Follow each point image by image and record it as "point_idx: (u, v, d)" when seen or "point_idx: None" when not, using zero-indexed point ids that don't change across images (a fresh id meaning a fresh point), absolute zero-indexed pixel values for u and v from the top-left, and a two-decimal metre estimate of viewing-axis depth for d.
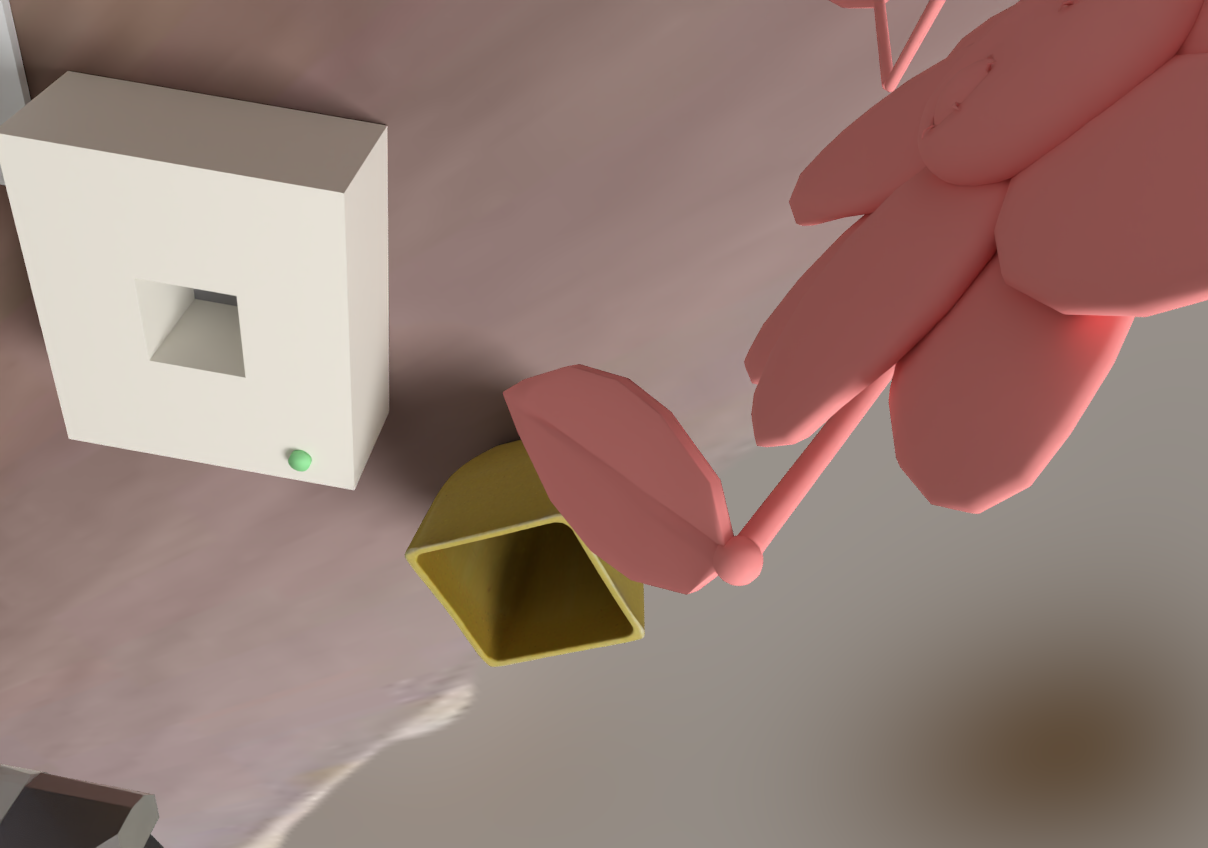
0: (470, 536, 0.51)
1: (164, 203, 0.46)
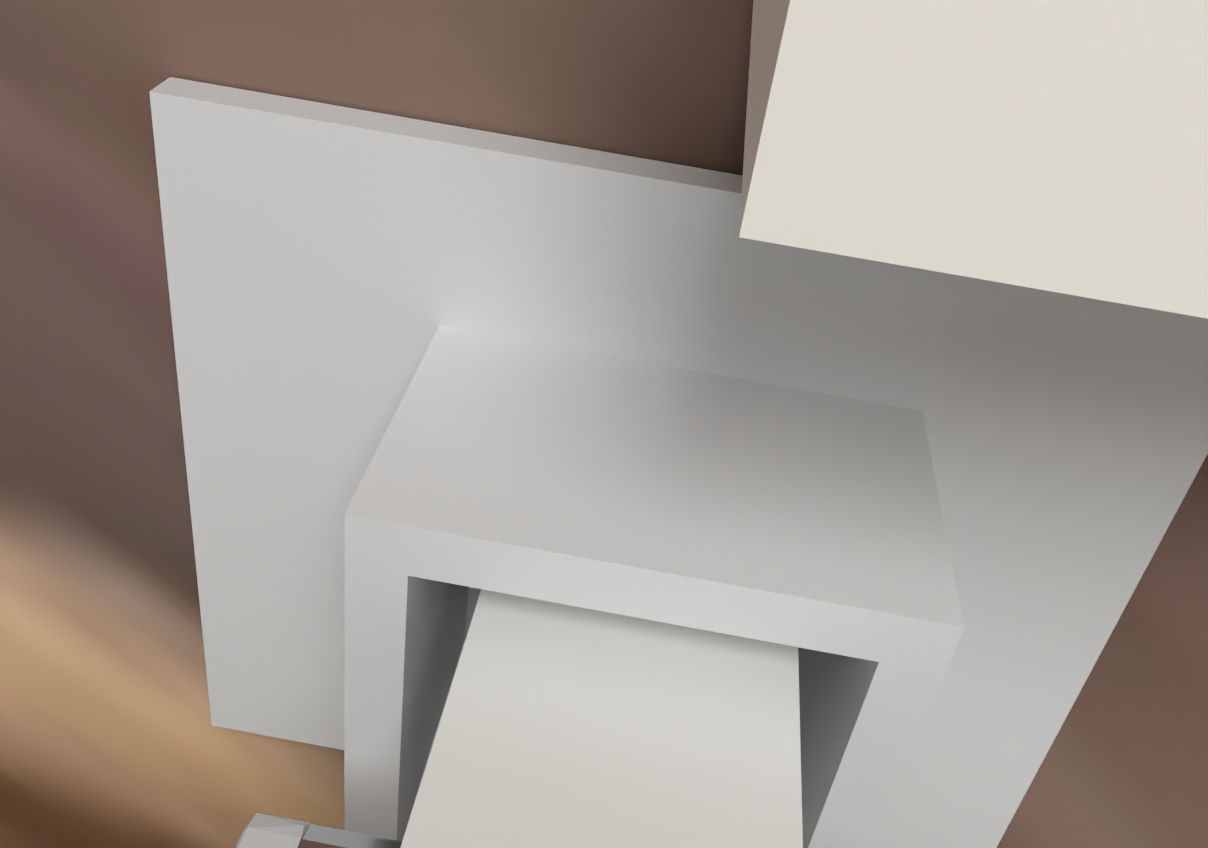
0: None
1: None
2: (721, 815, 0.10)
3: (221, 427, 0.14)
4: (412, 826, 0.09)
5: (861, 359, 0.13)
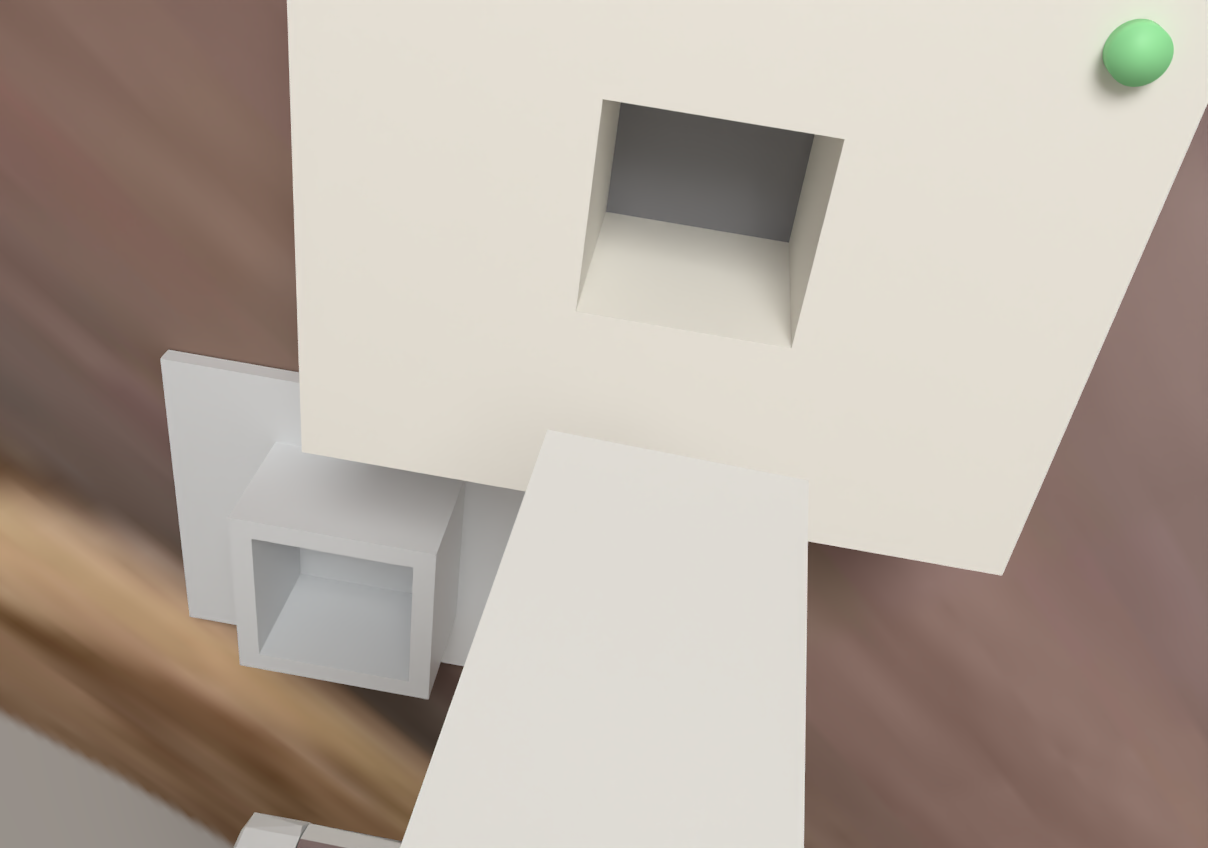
0: None
1: (388, 195, 0.22)
2: (723, 818, 0.10)
3: (190, 480, 0.34)
4: (415, 819, 0.09)
5: None
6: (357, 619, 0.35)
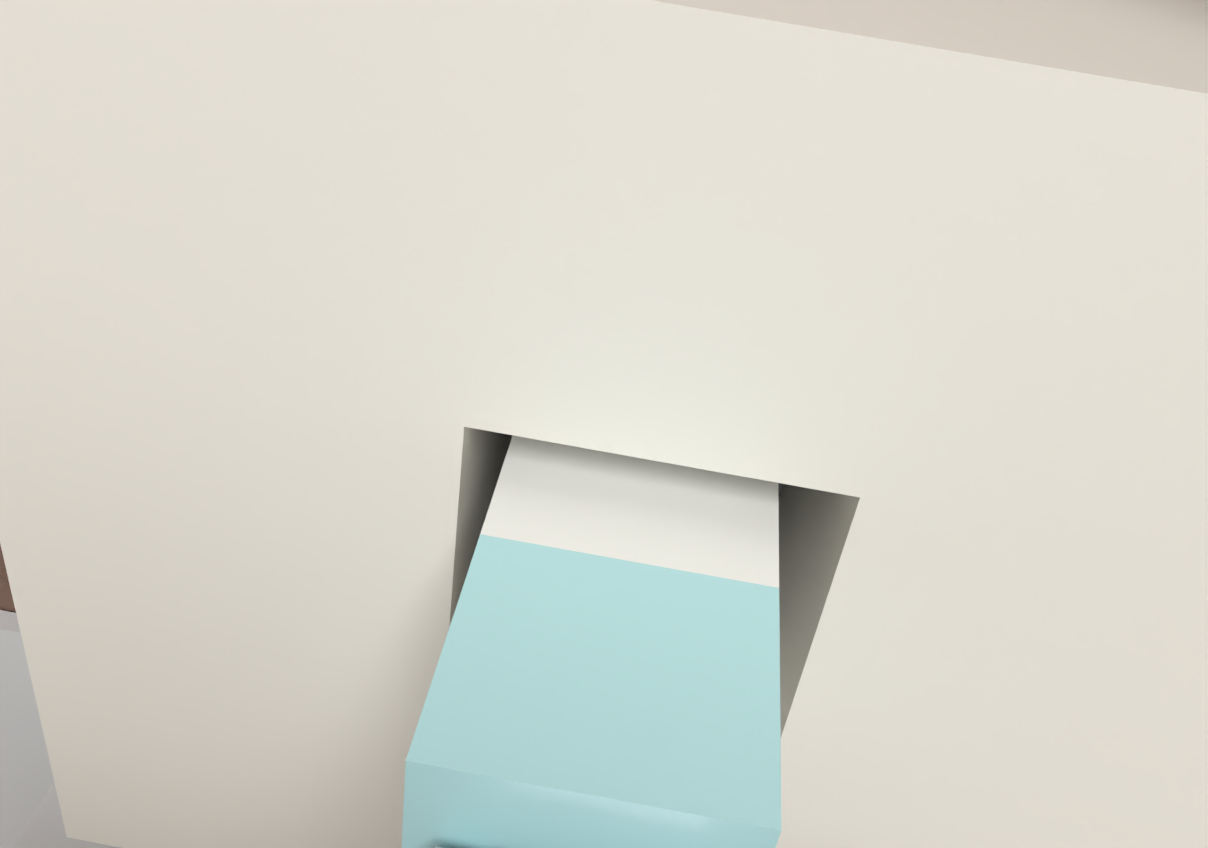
0: None
1: (142, 539, 0.14)
2: (717, 518, 0.13)
3: None
4: (490, 515, 0.12)
5: None
6: None
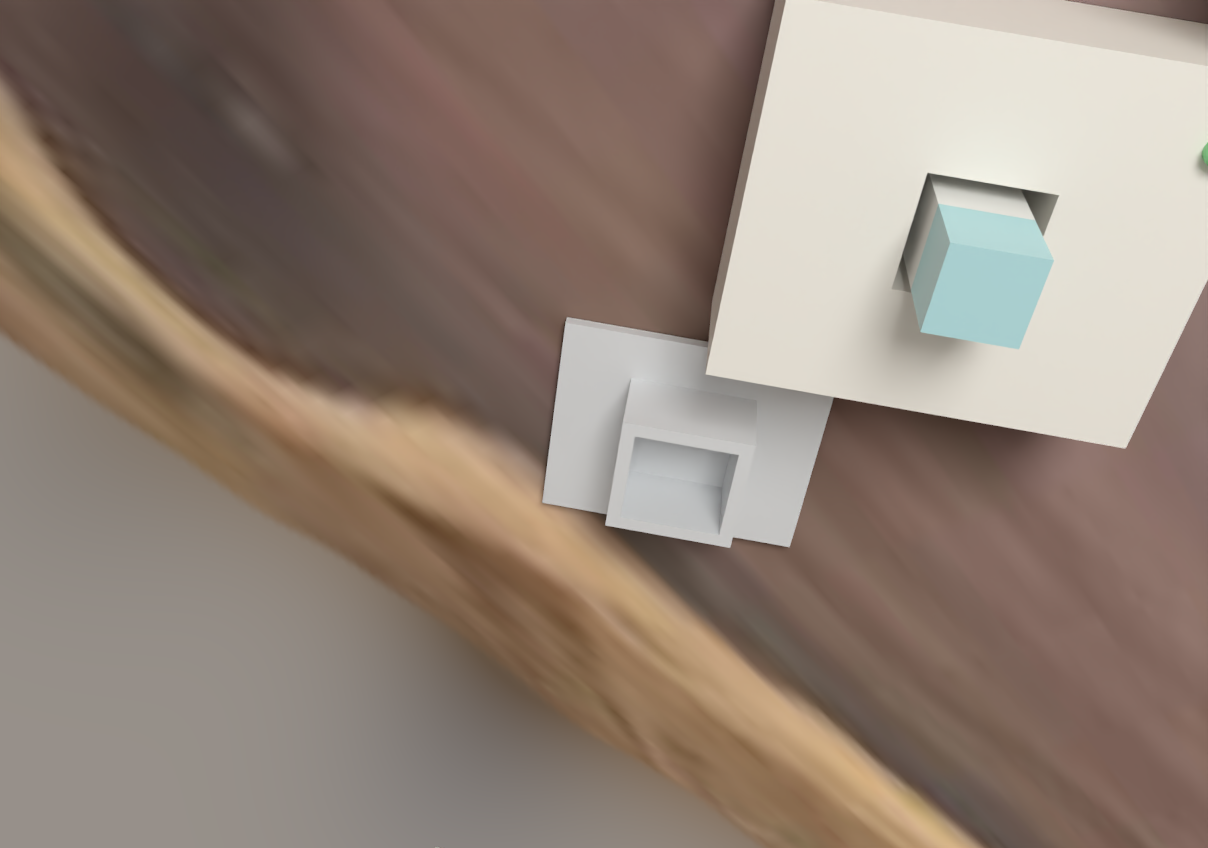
0: None
1: (793, 223, 0.40)
2: (1009, 205, 0.38)
3: (566, 405, 0.52)
4: (938, 199, 0.38)
5: (740, 387, 0.50)
6: (674, 498, 0.52)
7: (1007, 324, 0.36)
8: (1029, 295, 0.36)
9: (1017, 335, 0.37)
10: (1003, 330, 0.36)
